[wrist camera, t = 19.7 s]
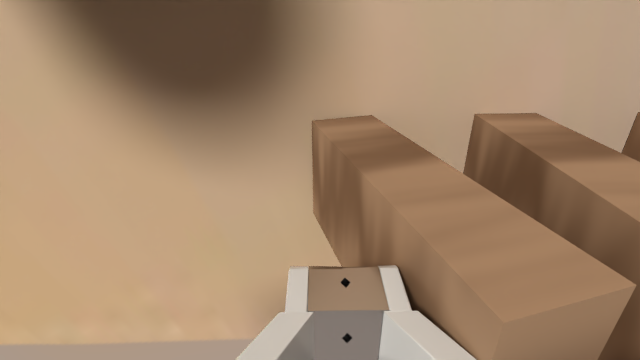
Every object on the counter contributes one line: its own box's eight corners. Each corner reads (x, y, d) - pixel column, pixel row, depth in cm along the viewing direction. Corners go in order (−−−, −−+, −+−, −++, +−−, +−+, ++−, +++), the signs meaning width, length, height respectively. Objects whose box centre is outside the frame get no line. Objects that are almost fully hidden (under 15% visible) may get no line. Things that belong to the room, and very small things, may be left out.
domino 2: (474, 114, 17) (758, 299, 6) (536, 113, 17) (927, 297, 6) (457, 203, 19) (643, 455, 8) (511, 202, 19) (767, 453, 8)
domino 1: (311, 120, 16) (503, 323, 6) (371, 115, 17) (636, 285, 6) (313, 213, 18) (454, 478, 8) (366, 204, 19) (556, 436, 9)
